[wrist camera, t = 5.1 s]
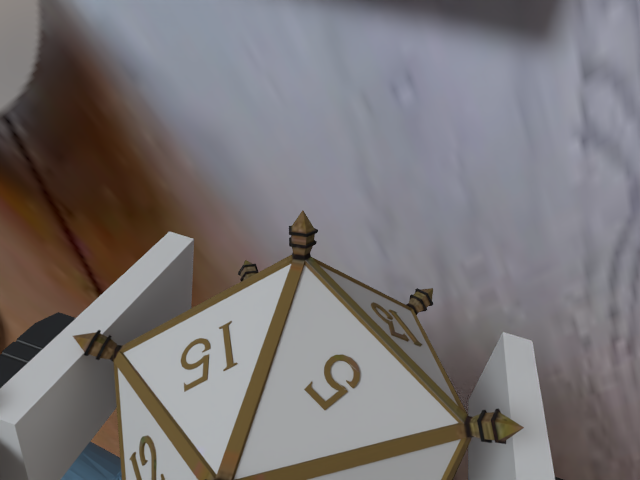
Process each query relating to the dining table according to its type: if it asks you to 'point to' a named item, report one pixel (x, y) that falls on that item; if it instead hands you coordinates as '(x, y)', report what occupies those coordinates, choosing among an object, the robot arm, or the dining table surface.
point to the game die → (291, 384)
